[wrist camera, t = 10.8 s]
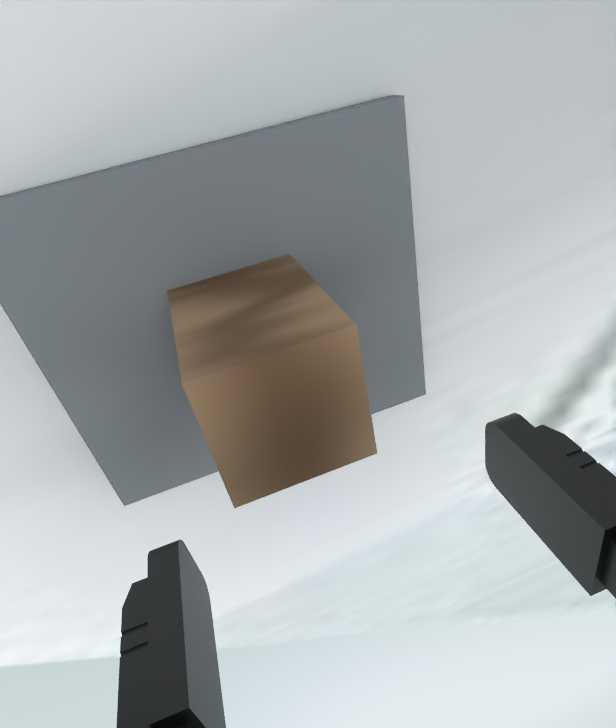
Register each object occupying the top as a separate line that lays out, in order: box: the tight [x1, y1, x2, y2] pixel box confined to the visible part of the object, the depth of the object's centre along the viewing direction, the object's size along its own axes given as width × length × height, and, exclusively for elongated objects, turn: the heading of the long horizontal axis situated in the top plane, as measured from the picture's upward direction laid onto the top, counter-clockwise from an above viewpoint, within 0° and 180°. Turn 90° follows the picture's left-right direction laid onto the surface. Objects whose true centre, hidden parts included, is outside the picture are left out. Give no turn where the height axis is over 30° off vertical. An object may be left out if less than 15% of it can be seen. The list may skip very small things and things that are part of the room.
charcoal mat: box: [0, 95, 426, 506], centre depth 20 cm, size 16×14×1 cm
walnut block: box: [167, 254, 377, 508], centre depth 17 cm, size 5×5×7 cm
